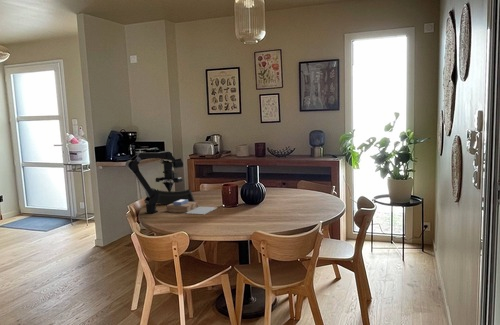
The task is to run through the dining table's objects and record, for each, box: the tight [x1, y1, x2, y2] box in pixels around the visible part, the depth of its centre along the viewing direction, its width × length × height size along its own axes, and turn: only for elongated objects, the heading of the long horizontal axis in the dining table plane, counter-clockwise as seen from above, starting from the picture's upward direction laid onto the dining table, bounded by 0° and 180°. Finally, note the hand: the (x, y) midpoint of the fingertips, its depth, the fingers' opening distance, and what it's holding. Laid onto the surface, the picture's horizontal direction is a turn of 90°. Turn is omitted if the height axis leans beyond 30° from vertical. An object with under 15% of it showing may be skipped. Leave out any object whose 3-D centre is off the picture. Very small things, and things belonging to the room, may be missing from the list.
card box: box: [173, 199, 188, 205], centre depth 275 cm, size 9×6×2 cm, turn 157°
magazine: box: [156, 188, 196, 206], centre depth 294 cm, size 17×3×30 cm
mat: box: [186, 206, 218, 215], centre depth 269 cm, size 18×14×1 cm
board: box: [166, 201, 199, 214], centre depth 275 cm, size 14×16×4 cm
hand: (169, 191), depth 277 cm, fingers closed
